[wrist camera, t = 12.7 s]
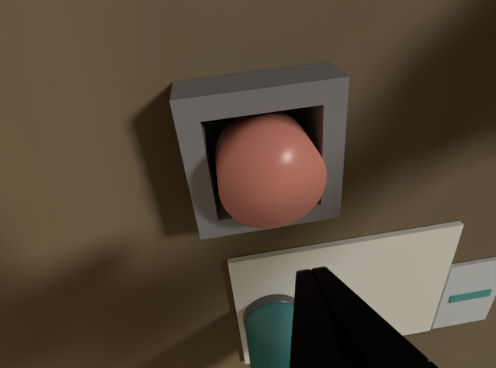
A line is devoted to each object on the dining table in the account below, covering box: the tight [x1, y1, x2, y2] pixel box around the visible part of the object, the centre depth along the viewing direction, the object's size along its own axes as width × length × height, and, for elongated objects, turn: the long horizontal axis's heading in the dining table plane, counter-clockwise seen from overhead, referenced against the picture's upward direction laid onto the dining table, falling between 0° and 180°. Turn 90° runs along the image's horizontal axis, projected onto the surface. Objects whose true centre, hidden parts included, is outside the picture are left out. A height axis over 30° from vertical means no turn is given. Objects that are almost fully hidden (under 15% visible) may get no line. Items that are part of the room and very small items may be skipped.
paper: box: [227, 221, 464, 364], centre depth 24 cm, size 15×11×1 cm
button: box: [215, 111, 327, 228], centre depth 15 cm, size 4×4×3 cm
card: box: [431, 257, 496, 329], centre depth 26 cm, size 4×7×1 cm, turn 6°
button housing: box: [169, 62, 349, 240], centre depth 16 cm, size 7×7×2 cm
